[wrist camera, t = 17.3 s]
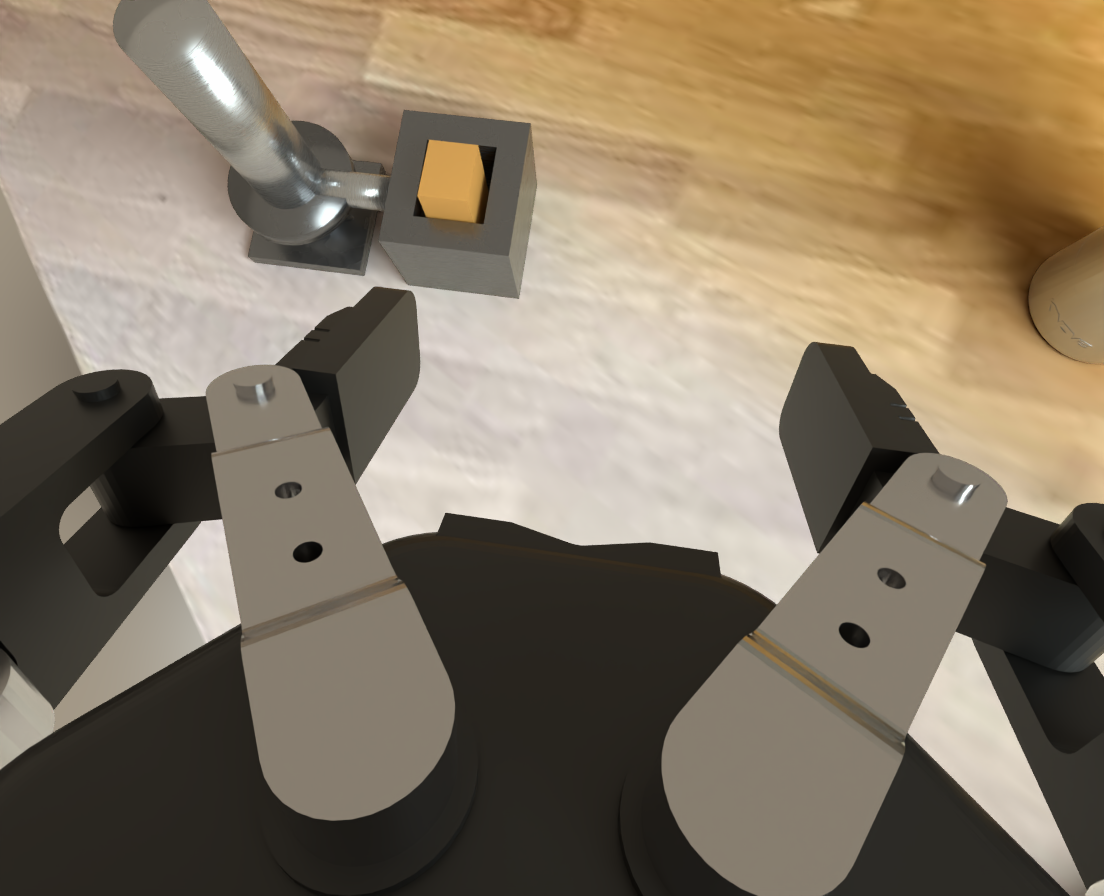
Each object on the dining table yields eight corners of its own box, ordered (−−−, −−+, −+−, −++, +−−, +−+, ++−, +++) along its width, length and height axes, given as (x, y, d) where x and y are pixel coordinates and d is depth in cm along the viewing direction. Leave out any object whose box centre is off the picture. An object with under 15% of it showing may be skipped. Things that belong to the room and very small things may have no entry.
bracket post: (536, 184, 46) (513, -36, 28) (519, 298, 44) (482, 144, 27) (278, 155, 47) (98, -73, 29) (254, 265, 46) (49, 97, 28)
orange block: (494, 217, 44) (478, 144, 36) (485, 265, 44) (467, 201, 36) (454, 213, 45) (429, 139, 37) (445, 260, 44) (417, 195, 36)
